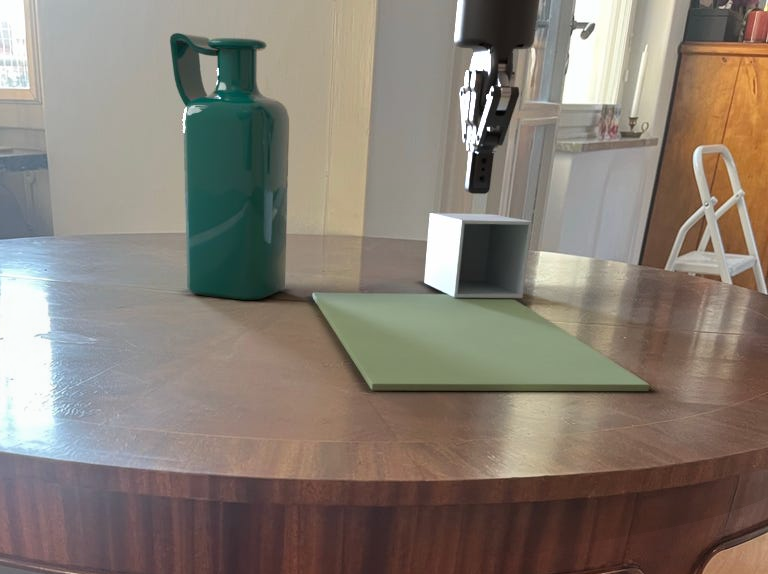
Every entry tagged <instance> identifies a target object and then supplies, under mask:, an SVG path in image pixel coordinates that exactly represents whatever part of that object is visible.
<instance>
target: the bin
mask: <svg viewBox="0 0 768 574" xmlns="http://www.w3.org/2000/svg"><path fill="white" fill-rule="evenodd" d="M428 220H429V222H428V231H427V243H426V244H427V245H426V254H425V255H426V256H425V268H424V280H423V282H424V284H426V285H427V286H430V287H432V288H434V289H436V290H438V291H440V292H442V293H443V294H448V295H450V296H452V297H454V298H513V299H523V297H524V289H525V281H526V274H527V266H528V258H529V251H530V243H531V234H532V228H533V227H532V226H533V221H532V220H527V219H520V218H515V217H509V216H503V215H498V214H491V213H488V214H487V213H446V212H444V213H443V212H441V213H440V212H439V213H438V212H433V213H432V212H430V213H429V219H428Z"/></svg>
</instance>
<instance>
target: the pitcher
mask: <svg viewBox="0 0 768 574" xmlns="http://www.w3.org/2000/svg"><path fill="white" fill-rule="evenodd" d="M169 45H170V53H171V62H172V68H173V69H172V70H173V76H174V82H175V86H176V89H177V92H178V94H179V96H180V98H181V100H182V102H183V104H184V105H185V109H184V113H183V119H182V121H183V158H184V161H183V163H184V165H183V166H184V198H185V199H184V201H185V202H184V203H185V206H184V208H185V241H186V243H185V245H186V287H187V290H188V291H189V292H190V293H192V294H193V295H197V296H203V297H212V298H222V299H231V300H240V301H258V300H262V299H264V298H267V297H269V296H273V295H274V294H277V293H279V292H282V291H283V290H284V289H285V287H286V265H287V264H286V263H287V262H286V261H287V260H286V259H287V224H288V186H289V185H288V181H289V178H288V177H289V176H288V175H289V146H290V145H289V143H290V142H289V141H290V116H289V113H288V110H287V108H286V106H285V105H284V104H283V103H281V102H280V101H279V100H277V99H274V98H270V97H268V96H265V95H263V94H262V92H261V91H260V90H259V87H258V82H257V78H258V77H257V71H258V70H257V69H258V67H257V66H258V64H257V63H258V52H260V51H263V50H265V49H266V48H267V43H266V42H265V41H264V40H261V39H256V38H243V37H242V38H241V37H215V38H208V37H207V36H202V35H197V34H196V35H194V34H187V33H179V32H176V33H175V32H174V33H172V34H171V35H170V38H169ZM200 54H201V55H203V56H209V57H216V58H217V82H216V85H215V88H214V89H213V91H212V92H211V93H209V94H207V92H206V90H205V87H204V83H203V79H202V72H201V61H200Z"/></svg>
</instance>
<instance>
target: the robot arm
mask: <svg viewBox="0 0 768 574" xmlns="http://www.w3.org/2000/svg"><path fill="white" fill-rule="evenodd" d="M539 6H540V0H457V5H456V15H455V16H456V17H455V26H454V27H455V28H454V37H453V41H454V45H455V46H456V47H458V48H462V49H472V56H471V60H470V61H471V62H470V66H469V70H466V71H465V75H464V86H462V87H460V90H459V102H460V117H461V119H460V120H461V131H462V133H461V134H462V137H461V138H462V143H465V147H466V151H468V153H467V163H466V173H465V182H464V183H465V184H464V190H465V191H466V193H469V194H471V195H472V194H474V195H476V194H477V195H478V194H479V195H485V194H488V193H489V192H490V188H491V180H492V174H493V166H494V165H493V163H494V158H495V157H494V155H495V153H497V151H498V148H499V147H501V146H503V145H504V143H505V142H504V141H505V138H506V135H507V133H508V130H509V127H510V124H511V121H512V118H513V115H514V112H515V108H516V105H517V103H518V99H519V97H520V88H519V87H518V86H515V81H516V72H515V71H514V50H527V49H530V48H531V47H533V45H534V43H535V37H536V31H537V30H536V29H537V21H538V16H539V15H538V14H539Z"/></svg>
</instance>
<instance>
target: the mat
mask: <svg viewBox="0 0 768 574" xmlns="http://www.w3.org/2000/svg"><path fill="white" fill-rule="evenodd" d="M312 299H313V300H314V302H315V304H316V305H317V306H318V308H319V309H320V311H321V313H322V315H323V316H324V318H325V319H326V321H327V322H328V324H329V325H330V327H331V329H332V331H333V332H334V333H335V335H336V336H337V338H338V340H339V341H340V343H341V345H342V346H343V347H344V349H345V351H346V352H347V354H348V355H349V357H350V358H351V360H352V361H353V363H354V365H355V366H356V367H357V369H358V371H359V373H360V374H361V376H362V377H363V379H364V381H365V382H366V384H367V385H368V387H369V388H370V390H371V391H372V392H373V391H375V392H377V391H381V392H382V391H384V392H385V391H386V392H387V391H388V392H390V391H393V392H394V391H395V392H396V391H397V392H400V391H403V392H404V391H405V392H406V391H407V392H410V391H411V392H412V391H413V392H415V391H416V392H417V391H419V392H422V391H423V392H427V391H429V392H432V391H433V392H649V391H650V386H651V384H649V383H648V382H647V381H645V380H643V379H642V378H640V377H638V375H635V373H632V372H631V371H629V370H628V369H626V368H624V367H623V366H621V365H619V364H618V363H616V362H615V361H613V360H612V359H610V358H608V357H607V356H605V355H603V354H602V353H601V352H599V351H598V350H595V349H594V348H592V347H591V346H590V345H588V344H586V343H585V342H583V341H581V340H579V339H578V338H577V337H575V336H574V335H572V334H570V333H569V332H567V331H565V330H564V329H562V328H560V326H558V325H556V324H554V323H553V322H551V321H550V320H548V319H547V318H545V317H544V316H542V315H540V314H538V313H537V312H535V311H534V310H532V309H530V308H529V307H528V306H525V305H524V304H522V303H521V302H519V301H518V300H516V298H454V297H452V296H450V295H448V294H446V293H385V292H384V293H379V292H377V293H373V292H312Z"/></svg>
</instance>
